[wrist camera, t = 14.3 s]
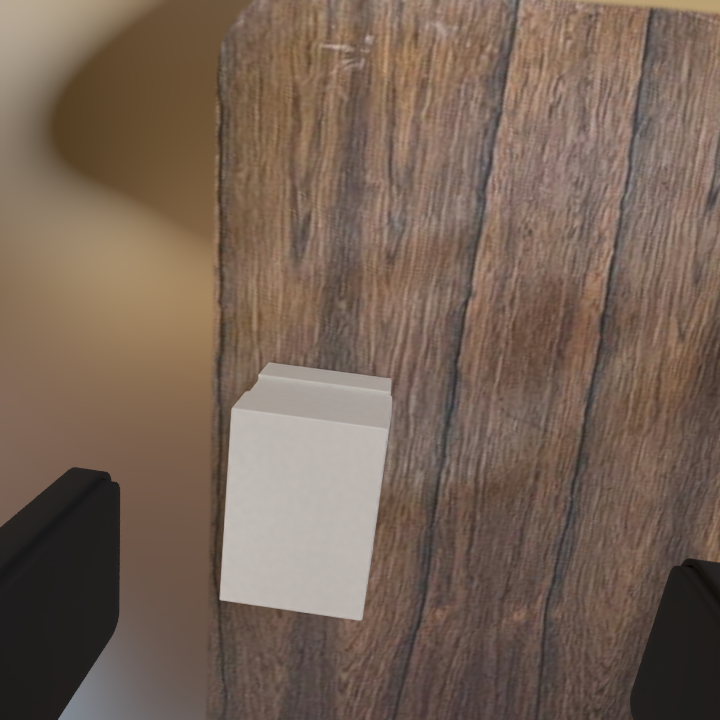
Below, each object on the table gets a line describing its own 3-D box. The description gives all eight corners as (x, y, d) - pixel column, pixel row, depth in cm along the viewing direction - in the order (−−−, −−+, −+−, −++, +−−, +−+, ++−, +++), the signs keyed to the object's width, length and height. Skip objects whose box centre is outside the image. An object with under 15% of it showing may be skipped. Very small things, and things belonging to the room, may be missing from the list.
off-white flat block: (245, 390, 28) (230, 407, 26) (390, 409, 28) (388, 429, 26) (233, 569, 31) (218, 600, 29) (365, 588, 31) (361, 621, 28)
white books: (268, 361, 33) (245, 388, 28) (393, 378, 33) (392, 408, 28) (255, 522, 36) (232, 571, 31) (371, 538, 36) (366, 591, 31)
